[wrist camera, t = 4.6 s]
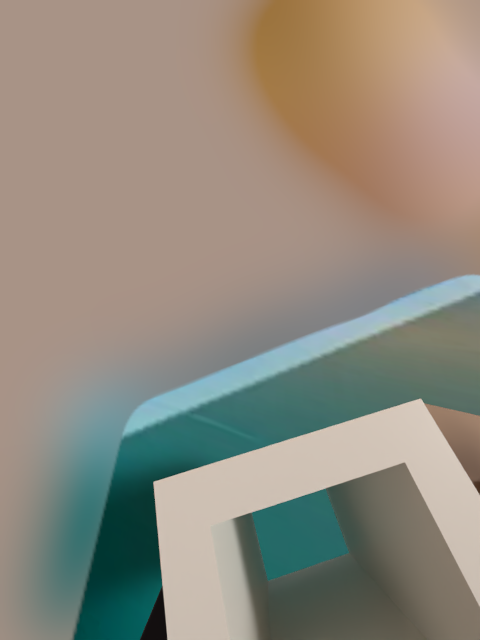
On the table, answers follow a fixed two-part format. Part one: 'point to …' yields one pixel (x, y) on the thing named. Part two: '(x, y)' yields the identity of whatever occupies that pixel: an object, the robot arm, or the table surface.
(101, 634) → the table surface
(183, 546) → the sleeve
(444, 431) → the post stand
